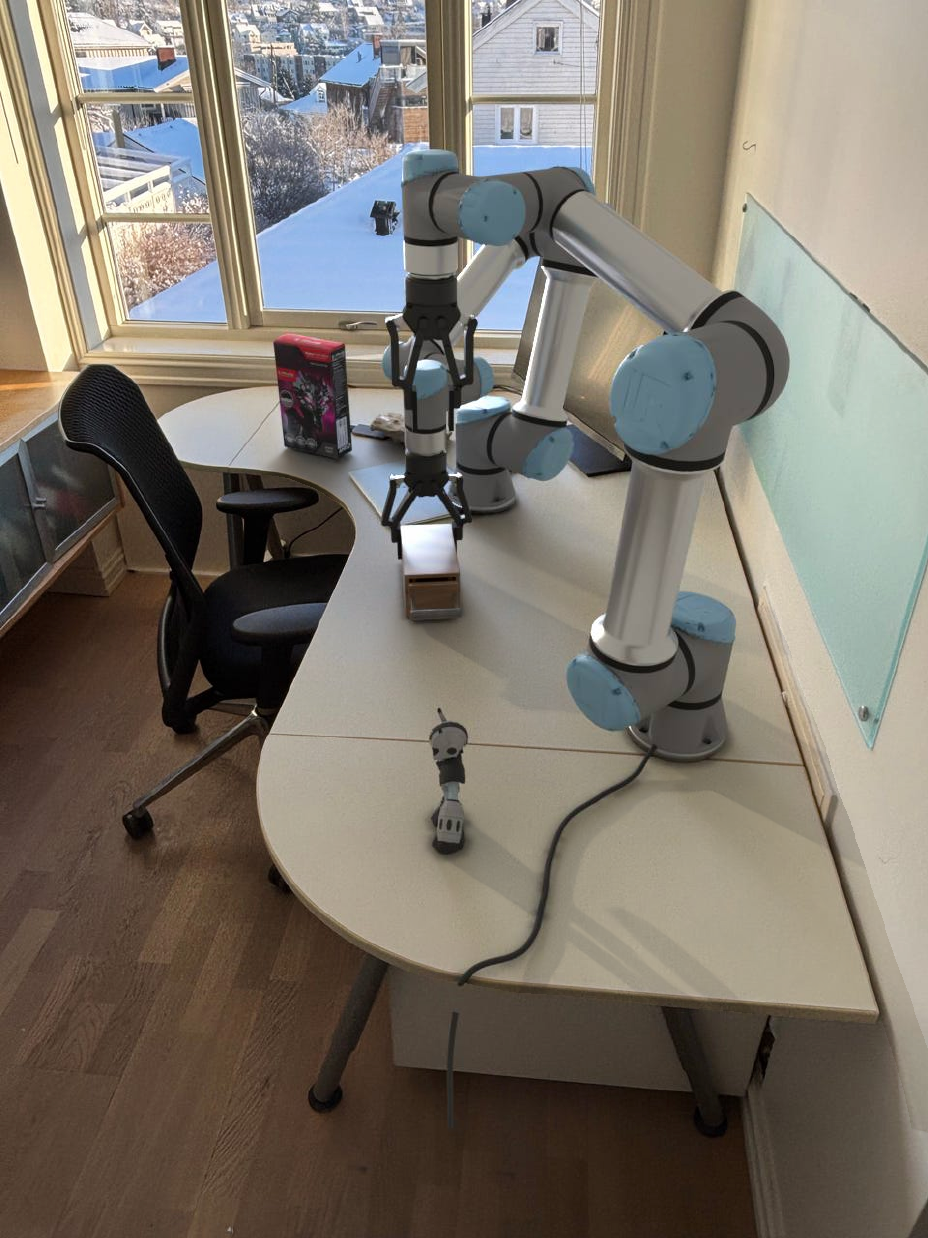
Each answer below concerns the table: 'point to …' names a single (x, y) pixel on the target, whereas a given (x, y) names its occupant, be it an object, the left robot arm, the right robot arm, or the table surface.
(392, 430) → the stone
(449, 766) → the robot
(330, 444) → the graphics card box
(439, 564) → the wooden drawer box
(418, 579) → the wooden drawer
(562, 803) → the table surface
